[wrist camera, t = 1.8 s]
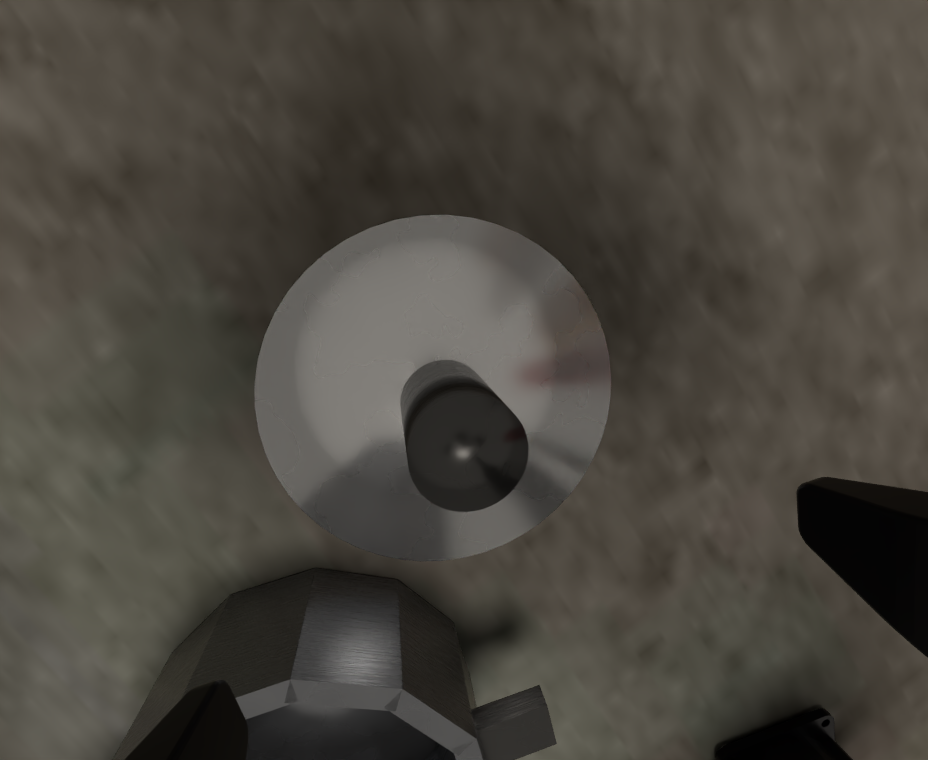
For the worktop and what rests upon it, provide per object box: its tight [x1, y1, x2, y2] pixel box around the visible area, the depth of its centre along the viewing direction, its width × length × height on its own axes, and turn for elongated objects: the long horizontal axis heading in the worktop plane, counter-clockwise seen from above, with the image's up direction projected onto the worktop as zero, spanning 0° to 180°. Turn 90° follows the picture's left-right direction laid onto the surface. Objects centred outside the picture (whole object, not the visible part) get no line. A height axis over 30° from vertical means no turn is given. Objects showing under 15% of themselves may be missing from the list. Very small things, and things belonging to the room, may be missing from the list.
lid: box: [255, 215, 611, 561], centre depth 15 cm, size 13×13×6 cm
